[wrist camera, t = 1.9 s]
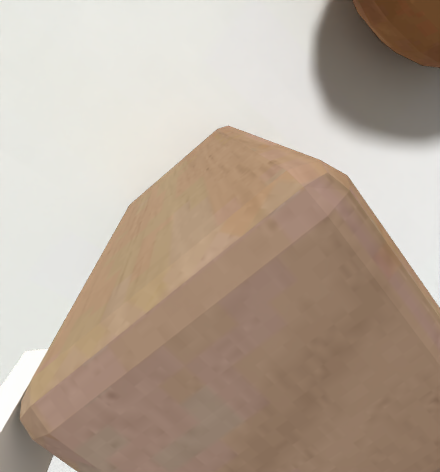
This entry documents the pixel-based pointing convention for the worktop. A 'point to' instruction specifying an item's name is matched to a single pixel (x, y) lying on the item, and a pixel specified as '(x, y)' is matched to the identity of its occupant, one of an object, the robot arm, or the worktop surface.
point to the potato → (405, 27)
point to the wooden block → (245, 330)
